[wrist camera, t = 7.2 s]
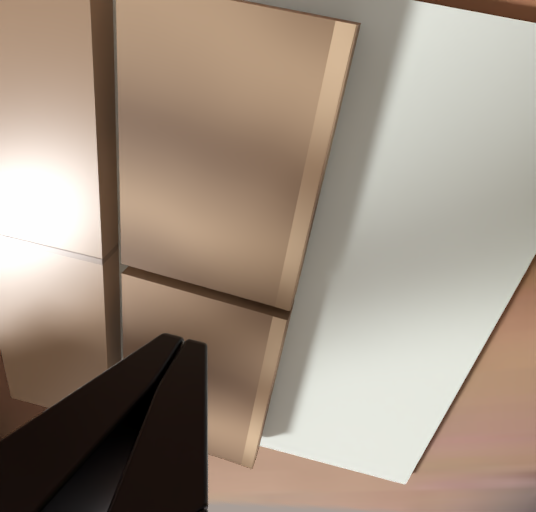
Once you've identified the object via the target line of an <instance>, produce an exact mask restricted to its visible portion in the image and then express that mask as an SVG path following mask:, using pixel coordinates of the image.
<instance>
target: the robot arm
mask: <svg viewBox="0 0 536 512" xmlns="http://www.w3.org/2000/svg"><path fill="white" fill-rule="evenodd" d="M207 509H208V348H207V344H206V343H205V342H201V341H197V340H193V339H187V340H186V341H184V338H183V337H181V336H177V335H173V334H169V333H162V334H160V335H159V336H157V337H156V338H154V339H153V340H151V341H150V342H148V343H147V344H145V345H144V346H142V347H141V348H139V349H138V350H136V351H135V352H133V353H131V354H130V355H128V356H127V357H125V358H124V359H122V360H121V361H119V362H118V363H116V364H115V365H113V366H112V367H110V368H109V369H107V370H106V371H104V372H103V373H101V374H100V375H98V376H97V377H95V378H94V379H92V380H90V381H89V382H87V383H86V384H84V385H83V386H81V387H80V388H78V389H77V390H75V391H74V392H72V393H71V394H69V395H68V396H66V397H65V398H63V399H62V400H60V401H59V402H57V403H56V404H54V405H53V406H51V407H50V408H48V409H46V410H45V411H43V412H42V413H40V414H39V415H37V416H36V417H34V418H33V419H31V420H30V421H28V422H27V423H25V424H24V425H22V426H21V427H19V428H18V429H16V430H15V431H13V432H12V433H10V434H9V435H7V436H6V437H4V438H2V439H1V440H0V512H208V510H207Z"/></svg>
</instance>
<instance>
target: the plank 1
mask: <svg viewBox="0 0 536 512" xmlns="http://www.w3.org/2000/svg"><path fill="white" fill-rule="evenodd" d="M360 25H361V23H358V22H353V21H348V20H343V19H338V18H332V17H327V16H322V15H317V14H312V13H307V12H302V11H296V10H291V9H286V8H281V7H276V6H271V5H266V4H260V3H255V2H250V1H245V0H116V31H117V79H118V128H119V177H120V225H121V264H124V265H127V266H131V267H135V268H138V269H142V270H145V271H149V272H152V273H156V274H160V275H163V276H167V277H170V278H174V279H178V280H181V281H185V282H188V283H192V284H195V285H199V286H203V287H206V288H210V289H213V290H217V291H220V292H224V293H228V294H231V295H235V296H238V297H242V298H246V299H249V300H253V301H256V302H260V303H263V304H267V305H271V306H274V307H277V308H280V309H284V310H287V311H290V310H291V307H292V304H293V301H294V298H295V295H296V292H297V288H298V284H299V280H300V275H301V271H302V267H303V263H304V259H305V255H306V250H307V246H308V242H309V238H310V234H311V230H312V225H313V221H314V217H315V213H316V209H317V205H318V200H319V196H320V192H321V188H322V184H323V180H324V175H325V171H326V167H327V163H328V159H329V155H330V150H331V146H332V142H333V138H334V134H335V130H336V125H337V121H338V117H339V113H340V109H341V105H342V100H343V96H344V92H345V88H346V84H347V80H348V75H349V71H350V67H351V63H352V59H353V55H354V50H355V46H356V42H357V38H358V34H359V30H360Z"/></svg>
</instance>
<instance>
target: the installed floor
mask: <svg viewBox="0 0 536 512" xmlns="http://www.w3.org/2000/svg"><path fill="white" fill-rule="evenodd" d="M245 1H250V2H255V3H260V4H266V5H271V6H276V7H281V8H286V9H291V10H296V11H302V12H307V13H312V14H317V15H322V16H327V17H332V18H338V19H343V20H348V21H353V22H358V23H361V25H360V30H359V34H358V38H357V42H356V46H355V50H354V55H353V59H352V63H351V67H350V71H349V75H348V80H347V84H346V88H345V92H344V96H343V100H342V105H341V109H340V113H339V117H338V121H337V125H336V130H335V134H334V138H333V142H332V146H331V150H330V155H329V159H328V163H327V167H326V171H325V175H324V180H323V184H322V188H321V192H320V196H319V200H318V205H317V209H316V213H315V217H314V221H313V225H312V230H311V234H310V238H309V242H308V246H307V250H306V255H305V259H304V263H303V267H302V271H301V275H300V280H299V284H298V288H297V292H296V295H295V298H294V305H293V309H292V313H291V317H290V321H289V325H288V330H287V334H286V338H285V342H284V346H283V350H282V355H281V359H280V363H279V367H278V371H277V375H276V380H275V384H274V388H273V392H272V396H271V400H270V405H269V409H268V413H267V417H266V421H265V425H264V430H263V434H262V438H261V442H260V446H262V447H266V448H270V449H274V450H277V451H281V452H285V453H289V454H292V455H296V456H300V457H304V458H307V459H311V460H315V461H319V462H322V463H326V464H330V465H334V466H337V467H341V468H345V469H349V470H352V471H356V472H360V473H364V474H368V475H371V476H375V477H379V478H383V479H386V480H390V481H394V482H398V483H401V484H406V483H407V481H408V479H409V477H410V476H411V474H412V472H413V470H414V469H415V467H416V465H417V463H418V461H419V460H420V458H421V456H422V454H423V453H424V451H425V449H426V447H427V446H428V444H429V442H430V440H431V438H432V437H433V435H434V433H435V431H436V430H437V428H438V426H439V424H440V422H441V421H442V419H443V417H444V415H445V414H446V412H447V410H448V408H449V407H450V405H451V403H452V401H453V399H454V398H455V396H456V394H457V392H458V391H459V389H460V387H461V385H462V384H463V382H464V380H465V378H466V376H467V375H468V373H469V371H470V369H471V368H472V366H473V364H474V362H475V361H476V359H477V357H478V355H479V353H480V352H481V350H482V348H483V346H484V345H485V343H486V341H487V339H488V337H489V336H490V334H491V332H492V330H493V329H494V327H495V325H496V323H497V322H498V320H499V318H500V316H501V314H502V313H503V311H504V309H505V307H506V306H507V304H508V302H509V300H510V299H511V297H512V295H513V293H514V291H515V290H516V288H517V286H518V284H519V283H520V281H521V279H522V277H523V276H524V274H525V272H526V270H527V268H528V267H529V265H530V263H531V261H532V260H533V258H534V256H535V254H536V23H533V22H527V21H522V20H517V19H511V18H506V17H501V16H495V15H490V14H484V13H479V12H474V11H468V10H463V9H458V8H452V7H447V6H441V5H436V4H431V3H425V2H420V1H415V0H245ZM127 267H128V266H127V265H124V264H121V225H120V177H119V128H118V79H117V31H116V0H0V350H1V355H2V359H3V364H4V368H5V373H6V377H7V382H8V387H9V391H10V396H11V398H14V399H17V400H21V401H25V402H28V403H32V404H36V405H39V406H43V407H47V408H50V407H51V406H53V405H54V404H56V403H57V402H59V401H60V400H62V399H63V398H65V397H66V396H68V395H69V394H71V393H72V392H74V391H75V390H77V389H78V388H80V387H81V386H83V385H84V384H86V383H87V382H89V381H90V380H92V379H94V378H95V377H97V376H98V375H100V374H101V373H103V372H104V371H106V370H107V369H109V368H110V367H112V366H113V365H115V364H116V363H118V362H119V361H121V360H122V359H123V324H122V275H121V273H122V272H123V271H124V270H125V269H126V268H127Z"/></svg>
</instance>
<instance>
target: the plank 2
mask: <svg viewBox="0 0 536 512" xmlns="http://www.w3.org/2000/svg"><path fill="white" fill-rule="evenodd" d="M121 275H122V324H123V359H124V358H125V357H127V356H128V355H130V354H131V353H133V352H135V351H136V350H138V349H139V348H141V347H142V346H144V345H145V344H147V343H148V342H150V341H151V340H153V339H154V338H156V337H157V336H159V335H160V334H162V333H169V334H173V335H177V336H181V337H183V338H184V341H186V340H187V339H193V340H197V341H201V342H205V343H206V344H207V348H208V454H209V455H212V456H215V457H218V458H221V459H224V460H227V461H230V462H233V463H236V464H239V465H241V466H244V467H247V468H250V469H253V466H254V463H255V460H256V456H257V453H258V449H259V446H260V442H261V438H262V434H263V430H264V425H265V421H266V417H267V413H268V409H269V405H270V400H271V396H272V392H273V388H274V384H275V380H276V375H277V371H278V367H279V363H280V359H281V355H282V350H283V346H284V342H285V338H286V334H287V330H288V325H289V321H290V317H291V313H292V309H293V305H294V301H293V304H292V307H291V310H290V311H287V310H284V309H280V308H277V307H274V306H271V305H267V304H263V303H260V302H256V301H253V300H249V299H246V298H242V297H238V296H235V295H231V294H228V293H224V292H220V291H217V290H213V289H210V288H206V287H203V286H199V285H195V284H192V283H188V282H185V281H181V280H178V279H174V278H170V277H167V276H163V275H160V274H156V273H152V272H149V271H145V270H142V269H138V268H135V267H131V266H128V267H127V268H126V269H125V270H124V271H123V272H122V273H121Z"/></svg>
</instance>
